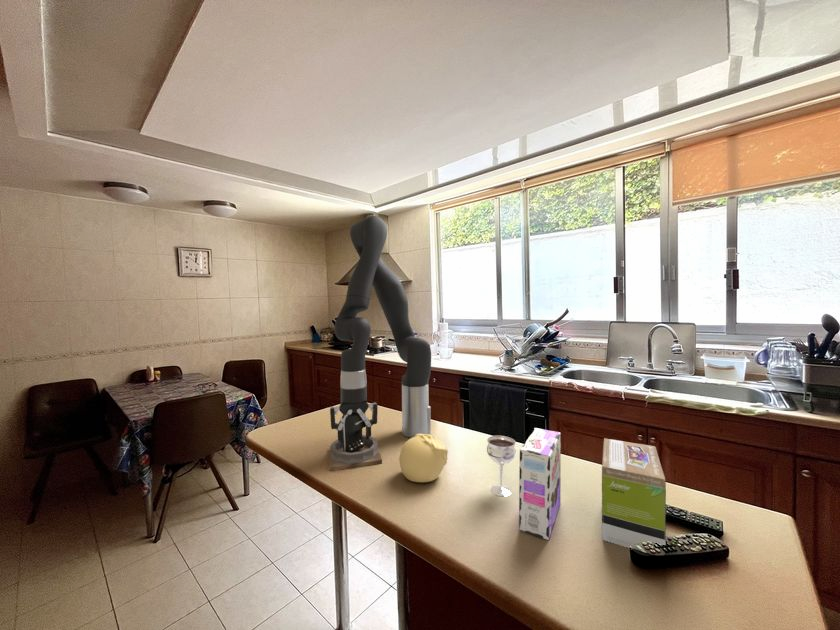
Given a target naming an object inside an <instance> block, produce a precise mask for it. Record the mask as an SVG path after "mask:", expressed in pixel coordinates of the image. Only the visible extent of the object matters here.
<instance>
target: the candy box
mask: <svg viewBox="0 0 840 630" xmlns="http://www.w3.org/2000/svg"><path fill="white" fill-rule="evenodd" d="M533 429H534V430H533V431H532V433H531V434H530V435H529V436H528V438H527V439H526V441H525V443H524V444H523V445H522V446H521V448H520V449H519V468H518V469H519V475H518V476H519V479H518V480H519V482H518V483H519V487H518V488H519V489H518V490H519V493H518V494H519V497H518V498H519V500H518V501H519V502H518V503H519V504H518V508H519V509H518V517H519V518H518V523H519V524H518V530H519V531H522V532H524V533H527V534H530V535H532V536H536V537H538V538H541V539H544V540H546V541H549V540H550V538H551V536H552V531H553V528H554V526H555V522H556V519H557V515H558V512H559V510H560V505H561V488H562V487H561V479H562V478H561V469H562V468H561V464H562V463H561V462H562V461H561V440H562V437H561V435H562V434H561V432H559V431H556V430H555V431H554V430H548V429H544V428H538V427H534V428H533Z"/></svg>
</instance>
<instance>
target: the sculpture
mask: <svg viewBox="0 0 840 630" xmlns="http://www.w3.org/2000/svg"><path fill="white" fill-rule="evenodd" d="M448 453H449V451H448V448H447V447H446V445H444V443H442V442H441V441H440V440H439V439H438V438H437V437H435V436H434V435H433V434H432V433H431V434H416V435H415V437H413V438H411V437H410V438H409V439H407V441H405V443H403V445H402V447H401V449H400V453H399V458H398V459H399V466H400V469H401V472H402V474H403V476H405V478H406V479H407V480H409V481H411V482H415V483H429V482H433V481H435V480H437V478H438V477H440V475H441V473H442V471H443V469H444V467H445V466H446V465H447V463H448V462H447V461H448Z"/></svg>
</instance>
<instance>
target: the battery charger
mask: <svg viewBox="0 0 840 630" xmlns="http://www.w3.org/2000/svg"><path fill="white" fill-rule="evenodd" d="M342 415H343V414H342ZM344 416H345V415H343V418H344ZM365 428H366V423H365V422H364V421H363V419H362V418H360V415H359V414H358V413H351V415H348V416H347V417H346V418H345V423H343V428H342V430H343V451H344V452H347V453H353V452H355V451H357V450H359V449H360V448H362V447H363V446H364V441H363V437H362V435H363V429H365Z"/></svg>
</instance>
